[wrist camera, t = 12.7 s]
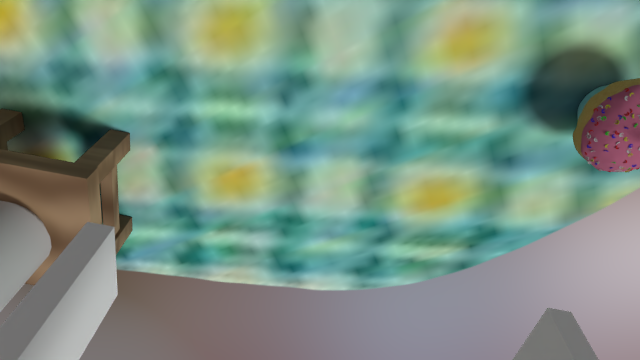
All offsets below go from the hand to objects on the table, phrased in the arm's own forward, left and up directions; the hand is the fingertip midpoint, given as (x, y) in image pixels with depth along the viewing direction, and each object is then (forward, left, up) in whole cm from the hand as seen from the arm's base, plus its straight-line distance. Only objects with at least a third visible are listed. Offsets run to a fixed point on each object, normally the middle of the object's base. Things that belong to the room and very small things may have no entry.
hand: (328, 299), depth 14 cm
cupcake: (+1, +26, -32) cm, 41 cm away
